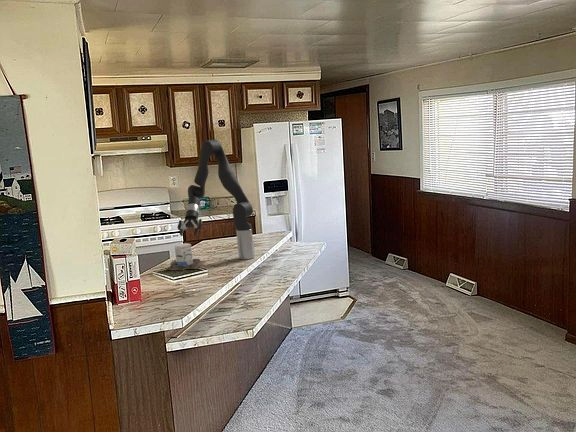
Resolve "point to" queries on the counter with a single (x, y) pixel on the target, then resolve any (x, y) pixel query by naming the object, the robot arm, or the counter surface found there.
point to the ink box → (183, 254)
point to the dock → (194, 265)
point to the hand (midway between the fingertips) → (188, 235)
